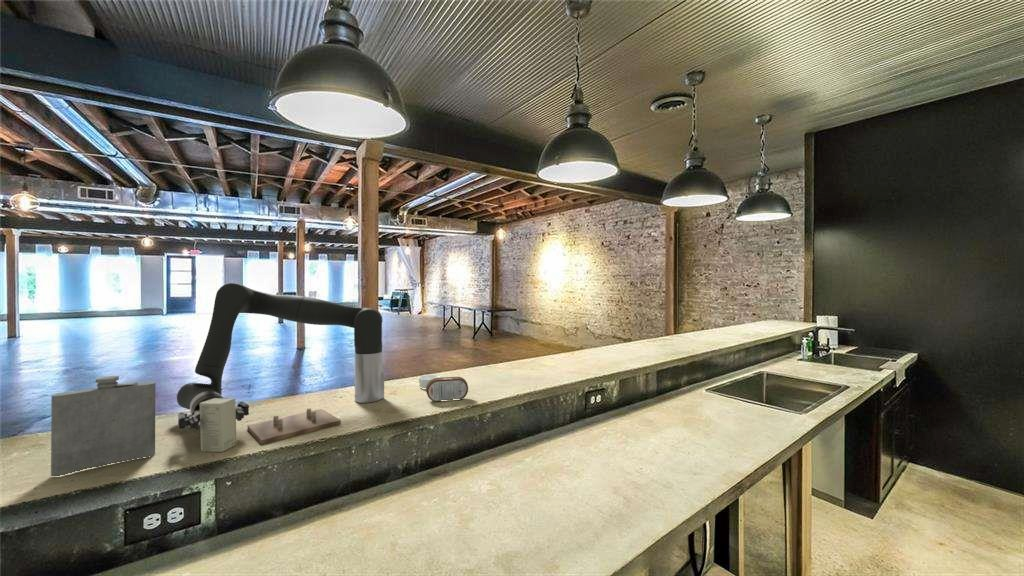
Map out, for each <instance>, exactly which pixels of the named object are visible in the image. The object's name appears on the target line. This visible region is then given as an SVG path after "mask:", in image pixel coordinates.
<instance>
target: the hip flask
mask: <svg viewBox="0 0 1024 576" xmlns="http://www.w3.org/2000/svg"><path fill="white" fill-rule="evenodd" d="M119 378H120V376H119V375H108V376H102V377H101V376H100V377H97V378H95V383H96V387H95V388H93V387H92V388H87V389H85V388H84V389H79V390H72V391H65V392H59V393H53V394H52V395H51V401H50V403H51V404H50V406H51V408H50V409H51V410H50V411H51V412H50V413H51V416H50V417H51V418H50V419H51V420H50V423H51V426H50V428H51V430H50V436H51V437H50V445H51V446H50V477H51V476H60V475H65V474H68V473H72V472H75V471H80V470H83V469H87V468H92V467H99V466H103V465H107V464H111V463H117V462H122V461H127V460H132V459H137V458H143V457H149V456H152V455H154V454H155V455H156V381H147V382H139V381H137V382H124V383H122V382H121V383H119V382H118V380H119ZM155 455H154V456H155ZM152 457H153V456H152ZM149 458H150V457H149Z"/></svg>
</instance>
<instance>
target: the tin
mask: <svg viewBox="0 0 1024 576" xmlns="http://www.w3.org/2000/svg"><path fill="white" fill-rule="evenodd" d="M425 392H426V395H427V397H428V398H429V400H430V401H432V402H434V401H441V400H453V399H461V400H463V399H465V397H466V396H467V395H468V393H469V385H468V382H467V381H466V379H465V378H463V377H462V376H444V377H443V376H442V377H441V376H440V377H439V378H434V379H432V380H431V381H430V382H429V383H428V384H427V387H426V390H425Z"/></svg>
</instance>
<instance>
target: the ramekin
mask: <svg viewBox="0 0 1024 576" xmlns="http://www.w3.org/2000/svg"><path fill="white" fill-rule="evenodd" d="M421 376H422V377H421ZM439 377H441V375H438V374H423V375H420V376H419V377H418V383H419V388H420V387H422V388H426V387H427V384H428V383H429V382H430V381H431V380H432V379H434V378H439Z"/></svg>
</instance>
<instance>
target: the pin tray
mask: <svg viewBox="0 0 1024 576" xmlns="http://www.w3.org/2000/svg"><path fill="white" fill-rule="evenodd" d="M341 422H342V421H341V419H340V418H338V417H336V416H335V415H333V414H332V413H330V412H328V411H327V410H324V409H323V408H320V409H319V408H318V409H315V410H312V408H306V411H305V412H301V413H296V414H292V415H287V416H283V417H279V415H278V414H277V415H274V416H273V419H270V420H266V421H262V422H261V421H260V422H258V423H252V424H248V425H247V431H248V432H249V433H250V435H252V436H253V437H254V438H255V439H256V440H257V442H258V443H259V444H260V445H261V446H262V445H266V444H269V443H274V442H277V441H282V440H285V439H289V438H292V437H296V436H300V435H304V434H308V433H311V432H316V431H319V430H323V429H327V428H331V427H334V426H335V427H336V426H338V425H341V424H342V423H341Z"/></svg>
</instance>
